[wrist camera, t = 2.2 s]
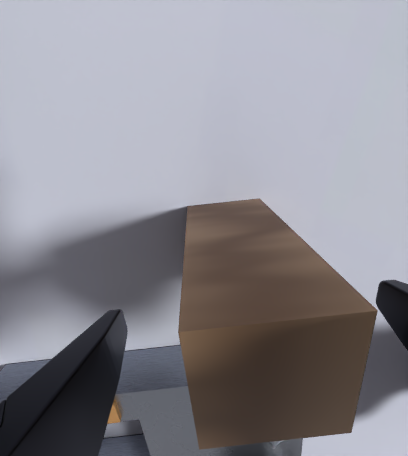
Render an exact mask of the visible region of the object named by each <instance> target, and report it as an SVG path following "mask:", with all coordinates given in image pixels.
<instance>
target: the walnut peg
mask: <svg viewBox="0 0 408 456" xmlns="http://www.w3.org/2000/svg"><path fill="white" fill-rule="evenodd" d="M376 315H377V310H376V309H375V308H374V307H373V306H372V305H371V304H370V303H369V302H368V301H367V300H366V299H365V298H364V297H363V296H362V295H361V294H360V293H359V292H357V291H356V290H355V289H354V288H353V287H352V286H351V285H350V284H349V283H348V282H347V281H346V280H345V279H344V278H343V277H342V276H341V275H340V274H338V273H337V272H336V271H335V270H334V269H333V268H332V267H331V266H330V265H329V264H328V263H327V262H326V261H325V260H324V259H323V258H322V257H321V256H320V255H318V254H317V253H316V252H315V251H314V250H313V249H312V248H311V247H310V246H309V245H308V244H307V243H306V242H305V241H304V240H303V239H302V238H301V237H300V236H298V235H297V234H296V233H295V232H294V231H293V230H292V229H291V228H290V227H289V226H288V225H287V224H286V223H285V222H284V221H283V220H282V219H281V218H280V217H278V216H277V215H276V214H275V213H274V212H273V211H272V210H271V209H270V208H269V207H268V206H267V205H266V204H265V203H264V202H263V201H262V200H261V199H251V200H241V201H232V202H223V203H213V204H204V205H194V206H188V207H187V220H186V234H185V248H184V262H183V275H182V289H181V303H180V316H179V330H178V333H179V339H180V344H181V350H182V356H183V361H184V367H185V372H186V378H187V384H188V389H189V395H190V401H191V406H192V412H193V417H194V423H195V429H196V434H197V440H198V446H199V450H201V449H210V448H219V447H228V446H236V445H245V444H254V443H263V442H272V441H281V440H290V439H299V438H308V437H317V436H326V435H335V434H344V433H351V432H352V427H353V423H354V418H355V413H356V409H357V404H358V399H359V395H360V390H361V385H362V381H363V376H364V371H365V367H366V362H367V357H368V353H369V348H370V343H371V339H372V334H373V329H374V325H375V320H376Z"/></svg>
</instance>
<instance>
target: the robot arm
mask: <svg viewBox="0 0 408 456" xmlns="http://www.w3.org/2000/svg"><path fill="white" fill-rule="evenodd" d="M376 304H377V307H378V309H379V310H380V311H381V313H382V314H383V316H384V317H385V319H386V320H387V322H388V323H389V325H390V326H391V328H392V329H393V330H394V332H395V333H396V335H397V336H398V338H399V339H400V341H401V342H402V343H403V345H404V346H405V348H406V349H407V350H408V284H406V283H403V282H400V281H397V280H386V281H381V282H380V284H379V287H378V292H377V297H376ZM126 339H127V326H126V322H125V318H124V315H123V312H122V310H120V309H118V310H110V311H108V312H107V313H105V314H104V315H103V316H102V317H101V318H100V319H98V320H97V321H96V322H95V323H94V324H93V325H91V326H90V327H89V328H88V329H87V330H85V331H84V332H83V333H82V334H81V335H80V336H78V337H77V338H76V339H75V340H74V341H73V342H71V343H70V344H69V345H68V346H67V347H65V348H64V349H63V350H62V351H61V352H60V353H58V354H57V355H56V356H55V357H54V358H53V359H51V360H50V361H49V362H48V363H47V364H45V365H44V366H43V367H42V368H41V369H40V370H38V371H37V372H36V373H35V374H34V375H33V376H31V377H30V378H29V379H28V380H27V381H25V382H24V383H23V384H22V385H21V386H20V387H18V388H17V389H16V390H15V391H14V392H12V393H11V394H10V395H9V396H8V397H7V399H6V400H3V401H2V402H1V403H0V456H98V455H99V451H100V448H101V444H102V441H103V437H104V433H105V430H106V426H107V423H108V419H109V416H110V412H111V408H112V405H113V401H114V398H115V394H116V391H117V387H118V383H119V379H120V374H121V368H122V362H123V356H124V350H125V345H126Z"/></svg>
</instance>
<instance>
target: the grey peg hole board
mask: <svg viewBox="0 0 408 456" xmlns="http://www.w3.org/2000/svg"><path fill="white" fill-rule="evenodd" d="M49 361H50V360H42V361H33V362H24V363H15V364H6V365H5V366H4V368H3V369H2V370H1V371H0V403H1V402H2V401H3V400H6V399H7V397H8V396H9V395H10V394H11V393H12V392H14V391H15V390H16V389H17V388H18V387H20V386H21V385H22V384H23V383H24V382H25V381H27V380H28V379H29V378H30V377H31V376H33V375H34V374H35V373H36V372H37V371H38V370H40V369H41V368H42V367H43V366H44V365H45V364H47V363H48V362H49ZM131 420H140V424H141V427H142V430H143V433H144V434H142V435H133V436H124V437H115V438H106V439H103V441H102V444H101V448H100V451H99V455H98V456H301V451H302V440H303V438H299V439H290V440H281V441H272V442H263V443H254V444H245V445H236V446H228V447H219V448H210V449H201V450H199V446H198V440H197V434H196V429H195V423H194V417H193V412H192V406H191V401H190V395H189V389H188V384H187V378H186V372H185V367H184V361H183V356H182V350H181V345H178V346H169V347H160V348H151V349H142V350H133V351H124V356H123V362H122V368H121V374H120V379H119V383H118V387H117V391H116V394H115V398H114V401H113V405H112V408H111V412H110V416H109V419H108V423H107V424H109V423H118V422H122V421H131Z"/></svg>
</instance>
